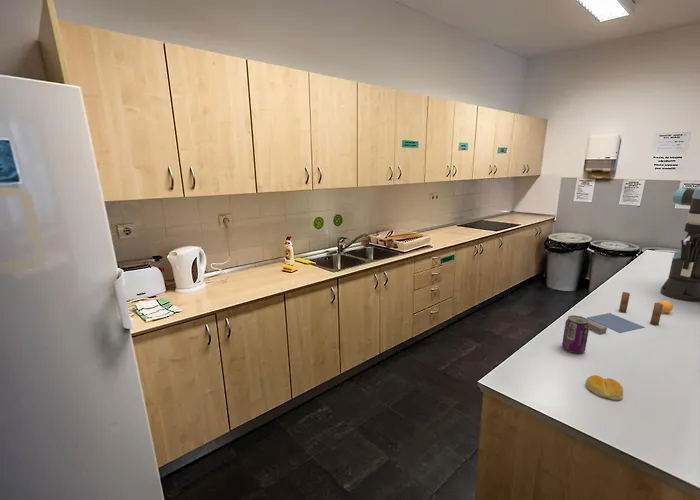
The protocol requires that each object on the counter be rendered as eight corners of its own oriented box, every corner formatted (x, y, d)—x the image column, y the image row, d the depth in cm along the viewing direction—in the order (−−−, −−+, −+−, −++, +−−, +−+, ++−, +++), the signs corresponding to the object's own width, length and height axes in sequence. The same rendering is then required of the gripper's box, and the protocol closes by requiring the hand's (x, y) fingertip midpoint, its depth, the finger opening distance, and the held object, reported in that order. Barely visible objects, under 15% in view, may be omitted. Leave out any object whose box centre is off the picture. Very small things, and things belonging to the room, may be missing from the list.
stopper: (579, 321, 143) (580, 316, 142) (605, 333, 133) (606, 327, 132) (574, 322, 142) (575, 317, 141) (600, 334, 132) (601, 328, 131)
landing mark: (609, 313, 150) (609, 312, 150) (644, 327, 137) (644, 326, 137) (586, 318, 146) (586, 317, 146) (619, 332, 133) (619, 332, 133)
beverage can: (588, 355, 118) (594, 324, 115) (566, 353, 119) (571, 322, 116) (579, 345, 125) (584, 315, 122) (558, 343, 126) (563, 314, 123)
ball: (659, 309, 154) (662, 297, 152) (674, 313, 148) (677, 302, 147) (651, 310, 152) (654, 299, 151) (665, 315, 147) (668, 304, 145)
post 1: (621, 310, 153) (625, 291, 151) (627, 312, 151) (631, 293, 148) (617, 311, 152) (621, 292, 150) (623, 313, 150) (627, 294, 148)
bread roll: (584, 379, 106) (586, 368, 105) (620, 388, 101) (623, 377, 100) (585, 393, 99) (587, 382, 98) (624, 405, 94) (626, 392, 93)
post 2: (652, 322, 141) (657, 302, 139) (660, 324, 139) (664, 304, 137) (648, 323, 141) (653, 303, 138) (655, 325, 138) (660, 305, 136)
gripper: (697, 221, 148) (684, 271, 154) (677, 223, 145) (665, 274, 150) (719, 223, 141) (705, 276, 147) (699, 225, 138) (685, 280, 144)
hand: (685, 275), depth 149 cm, fingers closed
